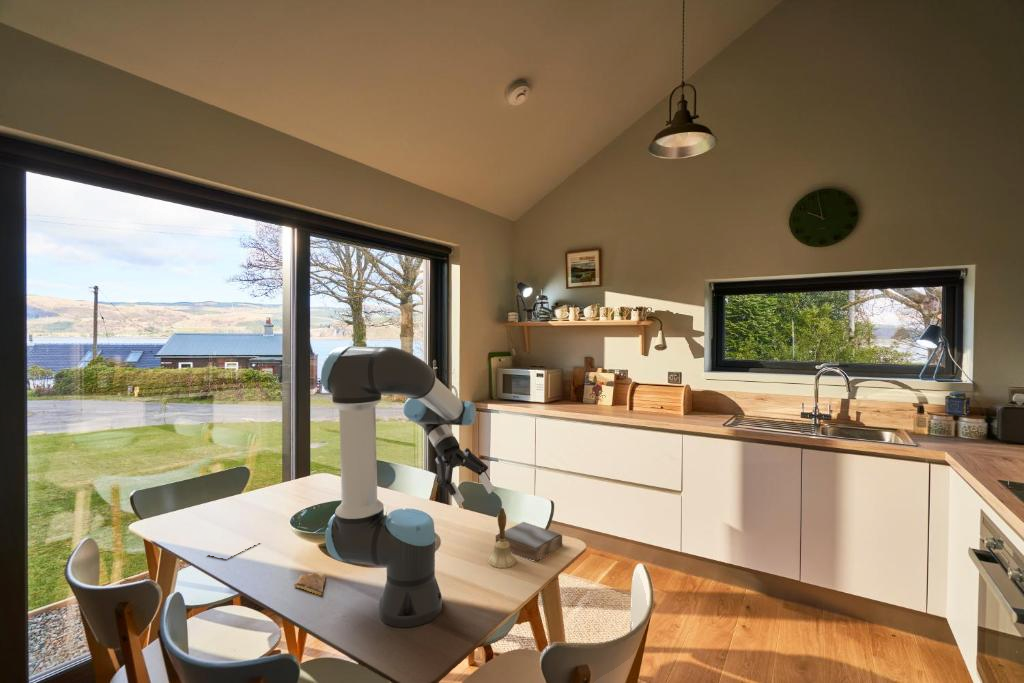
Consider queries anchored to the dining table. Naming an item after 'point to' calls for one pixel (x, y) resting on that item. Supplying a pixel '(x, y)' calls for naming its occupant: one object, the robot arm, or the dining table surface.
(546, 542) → the walnut stand
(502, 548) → the hand bell
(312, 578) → the shard
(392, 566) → the robot arm
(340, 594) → the dining table surface
